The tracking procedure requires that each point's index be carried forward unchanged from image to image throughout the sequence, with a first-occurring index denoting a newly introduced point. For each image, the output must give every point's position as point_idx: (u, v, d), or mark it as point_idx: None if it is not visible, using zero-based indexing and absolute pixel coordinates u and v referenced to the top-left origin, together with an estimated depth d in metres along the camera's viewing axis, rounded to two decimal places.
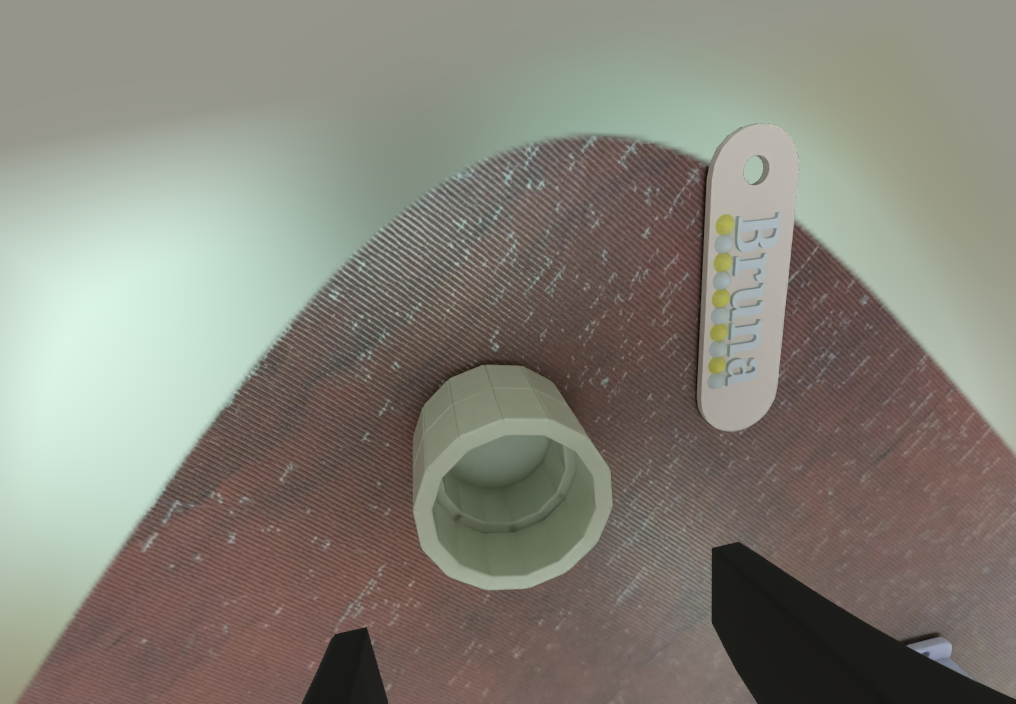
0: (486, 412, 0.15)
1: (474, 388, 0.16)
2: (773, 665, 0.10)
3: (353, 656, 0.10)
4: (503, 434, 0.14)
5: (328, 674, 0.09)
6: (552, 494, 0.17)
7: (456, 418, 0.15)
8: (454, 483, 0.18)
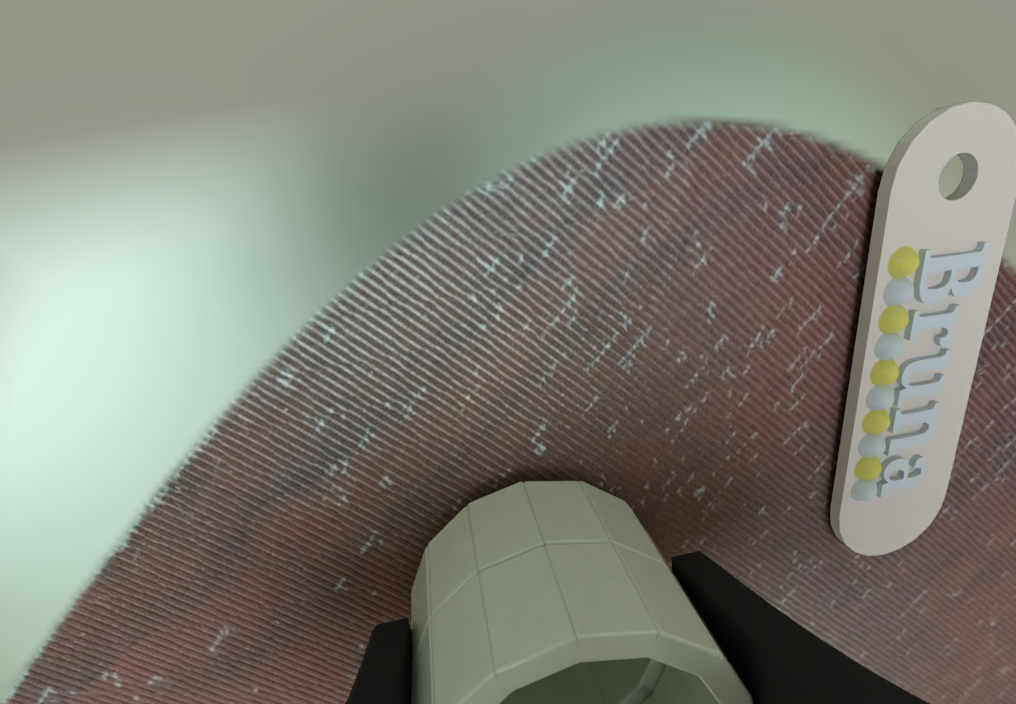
0: (541, 610, 0.08)
1: (512, 537, 0.10)
2: None
3: (397, 645, 0.10)
4: (575, 661, 0.08)
5: (375, 663, 0.09)
6: (630, 687, 0.11)
7: (486, 613, 0.09)
8: None
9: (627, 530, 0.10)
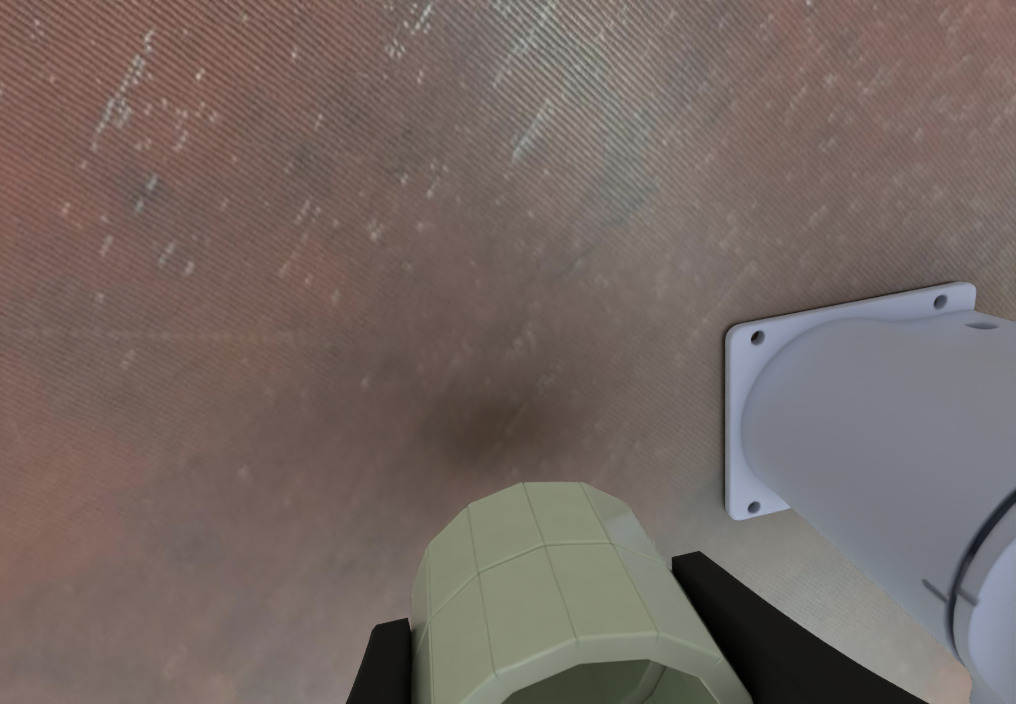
0: (541, 611, 0.08)
1: (512, 538, 0.10)
2: None
3: (397, 645, 0.10)
4: (575, 663, 0.08)
5: (374, 663, 0.09)
6: (630, 688, 0.11)
7: (486, 614, 0.09)
8: None
9: (627, 531, 0.10)
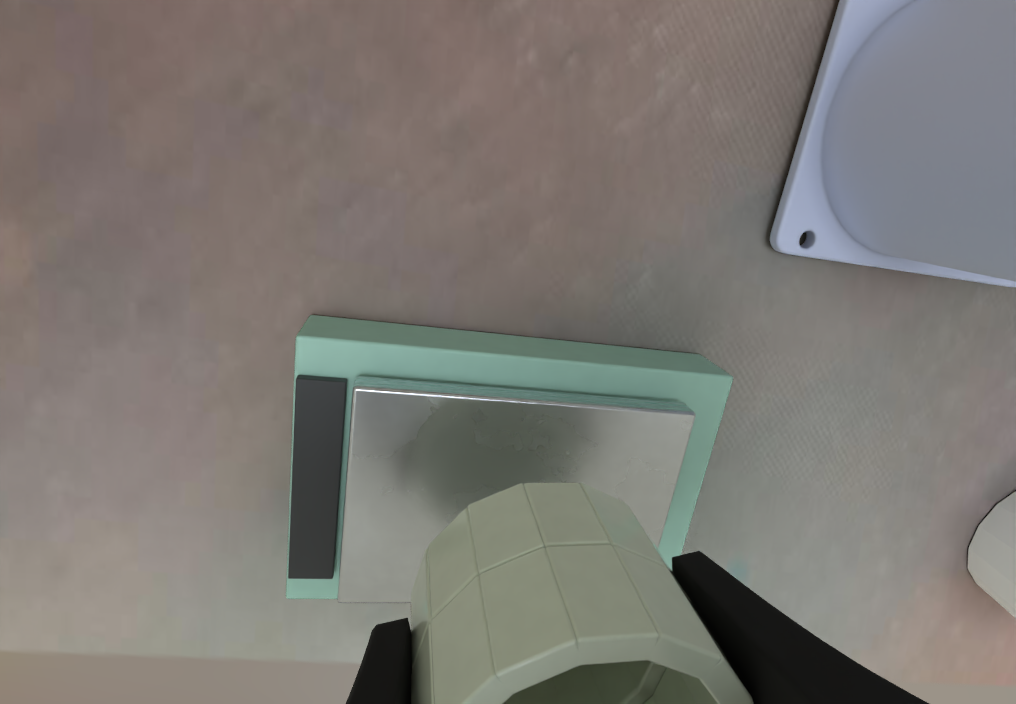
0: (541, 612, 0.08)
1: (512, 539, 0.10)
2: None
3: (397, 646, 0.10)
4: (575, 664, 0.08)
5: (375, 663, 0.09)
6: (631, 689, 0.11)
7: (487, 615, 0.09)
8: None
9: (627, 532, 0.10)
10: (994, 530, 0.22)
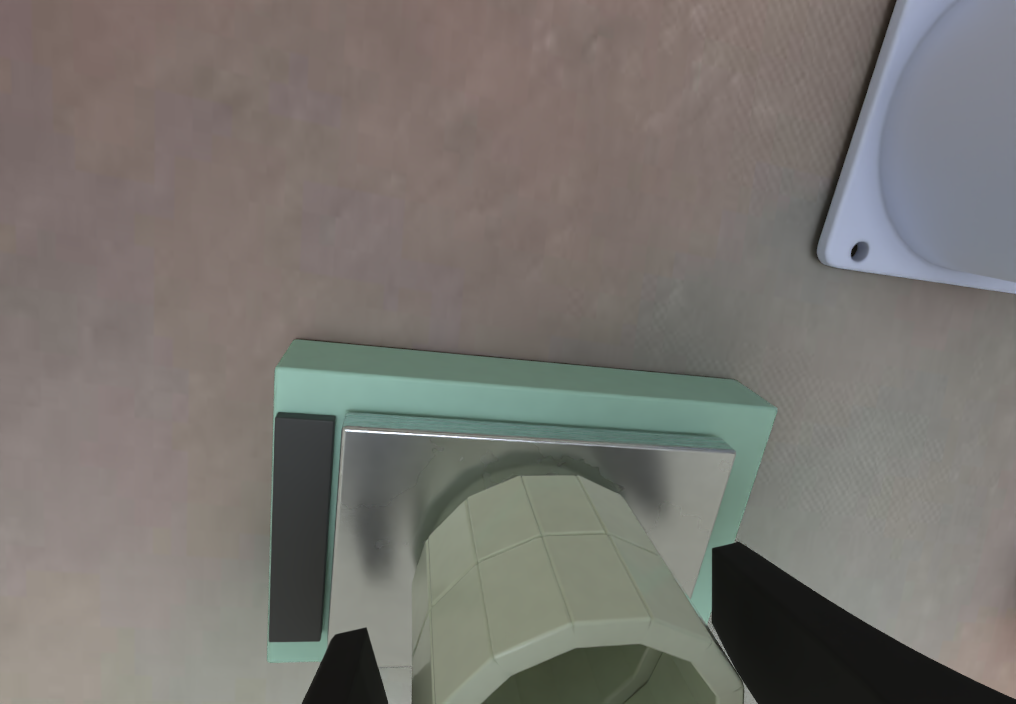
0: (538, 598, 0.08)
1: (510, 529, 0.10)
2: (773, 664, 0.10)
3: (353, 656, 0.10)
4: (571, 647, 0.08)
5: (328, 674, 0.09)
6: (626, 676, 0.11)
7: (485, 601, 0.09)
8: None
9: (622, 522, 0.11)
10: None
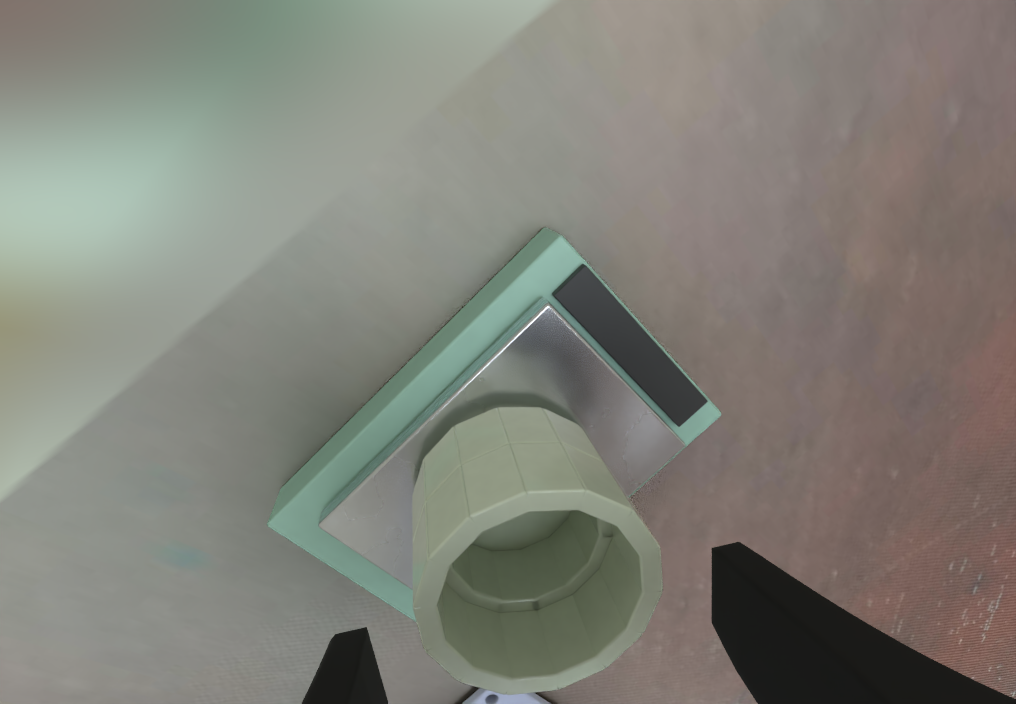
0: None
1: None
2: (773, 665, 0.10)
3: (353, 656, 0.10)
4: (629, 626, 0.12)
5: (328, 674, 0.09)
6: (452, 563, 0.14)
7: None
8: None
9: None
10: None
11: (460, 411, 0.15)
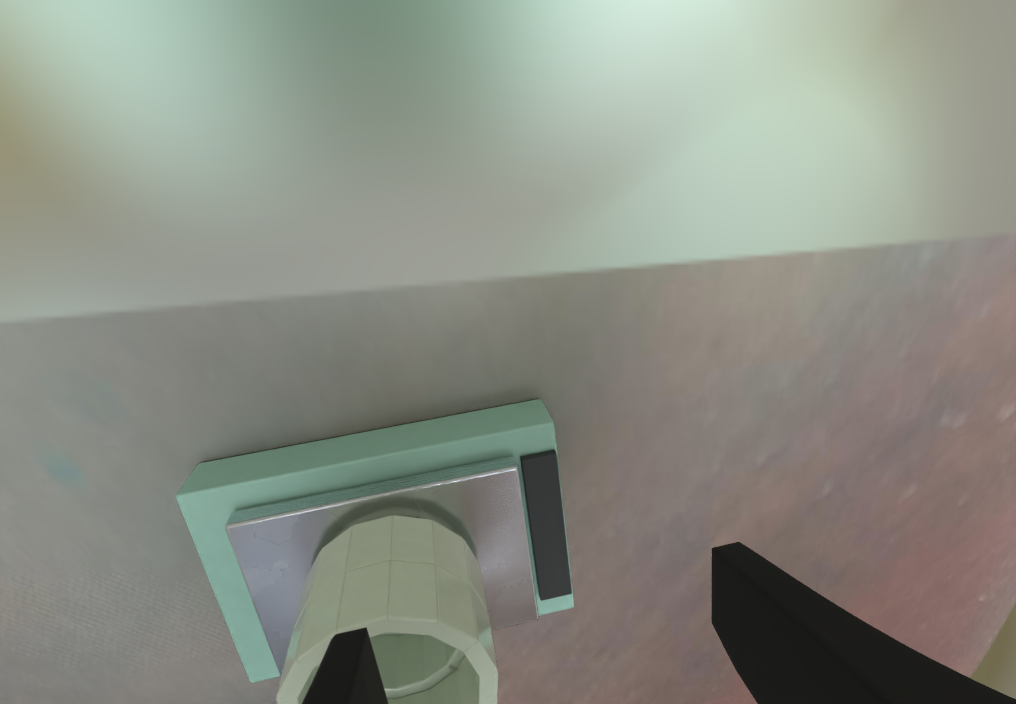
0: None
1: None
2: (773, 665, 0.10)
3: (353, 656, 0.10)
4: None
5: (328, 674, 0.09)
6: None
7: None
8: None
9: None
10: None
11: (401, 504, 0.17)
